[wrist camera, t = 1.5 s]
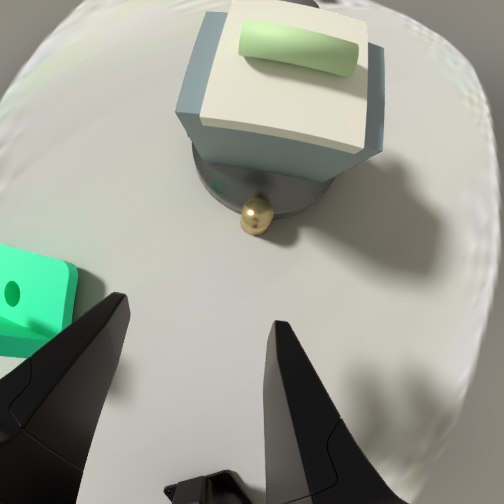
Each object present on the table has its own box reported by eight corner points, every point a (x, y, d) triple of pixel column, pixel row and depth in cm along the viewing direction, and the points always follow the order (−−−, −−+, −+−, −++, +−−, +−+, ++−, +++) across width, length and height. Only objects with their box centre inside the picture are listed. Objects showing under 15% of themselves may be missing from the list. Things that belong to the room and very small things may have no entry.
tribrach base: (333, 248, 23) (352, 239, 19) (169, 221, 22) (158, 207, 19) (340, 114, 25) (353, 91, 22) (205, 89, 25) (203, 63, 21)
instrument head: (329, 191, 22) (426, 153, 9) (194, 167, 21) (137, 96, 8) (341, 80, 21) (409, -14, 8) (219, 57, 20) (206, -58, 8)
